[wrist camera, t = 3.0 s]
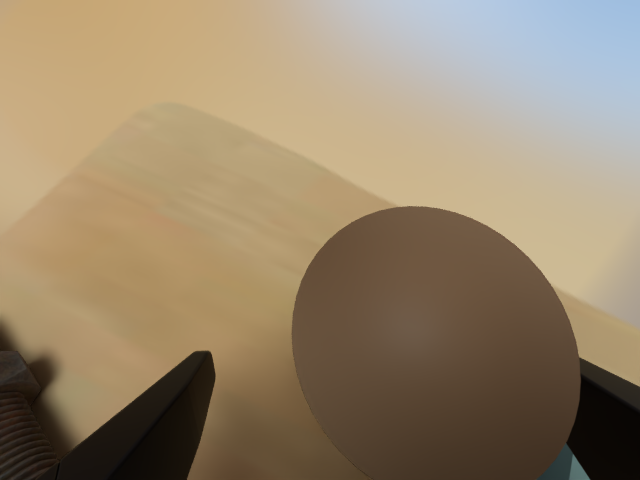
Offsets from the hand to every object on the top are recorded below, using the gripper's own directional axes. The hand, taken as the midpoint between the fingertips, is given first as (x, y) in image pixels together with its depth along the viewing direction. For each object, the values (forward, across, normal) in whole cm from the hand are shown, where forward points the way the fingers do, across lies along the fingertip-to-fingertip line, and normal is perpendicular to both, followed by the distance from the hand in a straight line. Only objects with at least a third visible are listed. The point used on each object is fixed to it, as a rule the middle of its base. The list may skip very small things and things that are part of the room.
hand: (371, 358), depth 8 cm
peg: (+6, 0, +6) cm, 8 cm away
